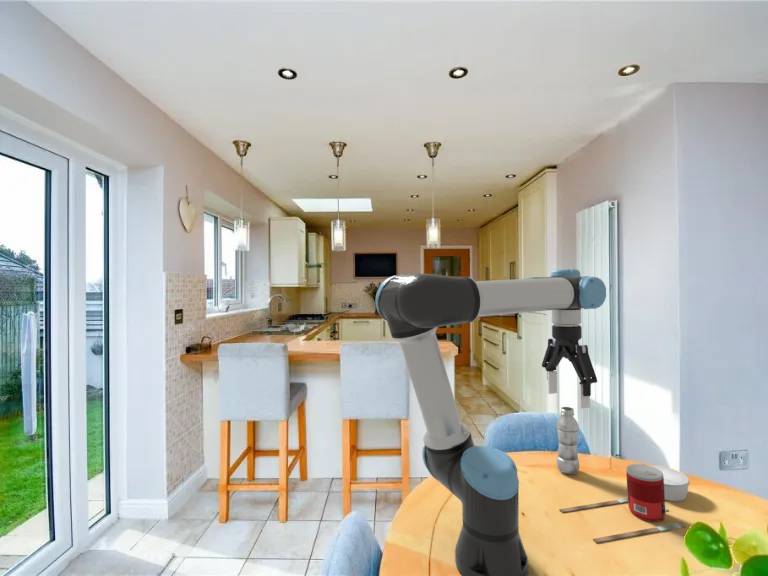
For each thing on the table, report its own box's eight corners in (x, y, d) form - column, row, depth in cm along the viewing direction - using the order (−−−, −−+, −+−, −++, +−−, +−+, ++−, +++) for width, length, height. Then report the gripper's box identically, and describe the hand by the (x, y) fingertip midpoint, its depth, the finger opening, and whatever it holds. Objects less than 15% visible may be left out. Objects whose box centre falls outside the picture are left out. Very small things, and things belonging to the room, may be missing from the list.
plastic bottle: (553, 472, 125) (552, 409, 124) (562, 464, 129) (561, 404, 129) (574, 479, 120) (573, 413, 119) (583, 471, 124) (582, 408, 124)
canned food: (671, 523, 97) (669, 479, 97) (635, 521, 99) (633, 478, 99) (656, 504, 105) (654, 464, 104) (623, 503, 106) (621, 463, 106)
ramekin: (644, 498, 109) (644, 479, 109) (638, 479, 119) (638, 462, 119) (694, 508, 104) (694, 488, 104) (684, 487, 114) (683, 469, 114)
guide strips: (596, 543, 91) (596, 542, 91) (559, 510, 104) (559, 508, 104) (693, 525, 97) (692, 524, 97) (645, 496, 110) (645, 494, 110)
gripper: (612, 329, 99) (613, 413, 100) (551, 319, 124) (552, 387, 124) (586, 330, 98) (587, 416, 98) (529, 320, 122) (530, 389, 123)
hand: (567, 400), depth 111 cm, fingers open, 13 cm apart
